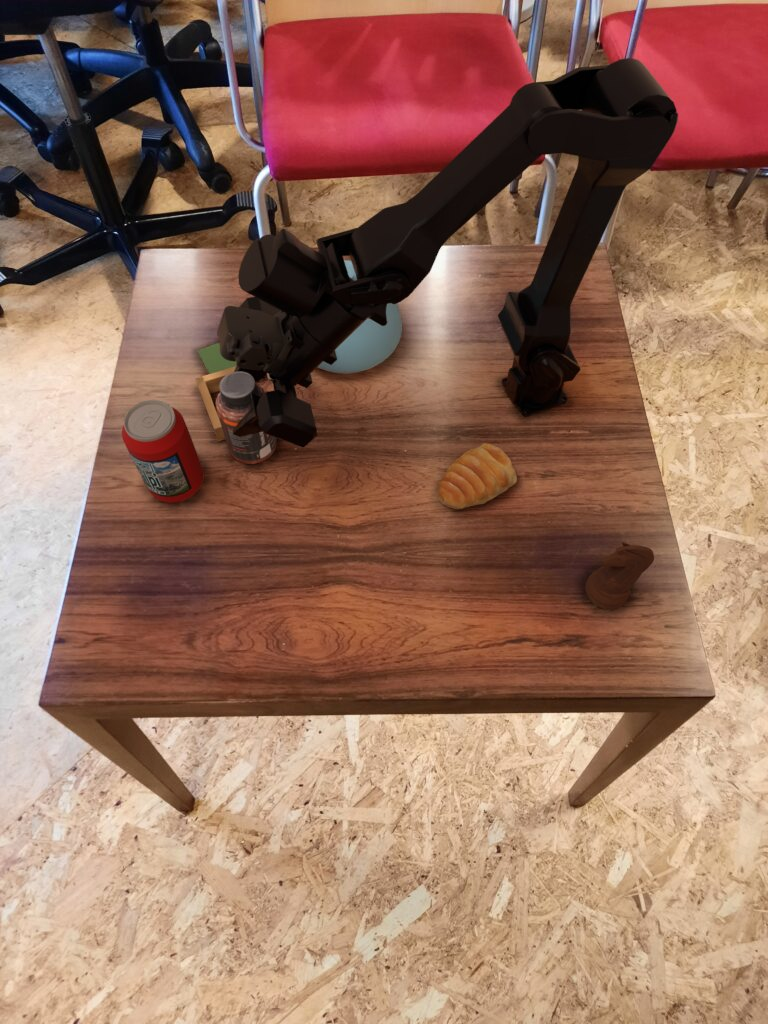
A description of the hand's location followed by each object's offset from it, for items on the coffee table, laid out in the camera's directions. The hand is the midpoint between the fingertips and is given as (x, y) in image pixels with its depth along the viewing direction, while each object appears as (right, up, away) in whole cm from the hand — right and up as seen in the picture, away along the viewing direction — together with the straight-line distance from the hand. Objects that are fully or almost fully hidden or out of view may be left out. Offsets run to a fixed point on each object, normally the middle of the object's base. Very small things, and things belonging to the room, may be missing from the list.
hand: (232, 413), depth 85 cm
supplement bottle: (+1, -3, +6) cm, 7 cm away
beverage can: (-7, -8, +3) cm, 11 cm away
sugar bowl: (+12, +12, +15) cm, 23 cm away
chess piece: (+42, -20, -4) cm, 47 cm away
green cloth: (-3, +10, +14) cm, 17 cm away
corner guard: (0, +3, +9) cm, 10 cm away
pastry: (+29, -8, +3) cm, 30 cm away
